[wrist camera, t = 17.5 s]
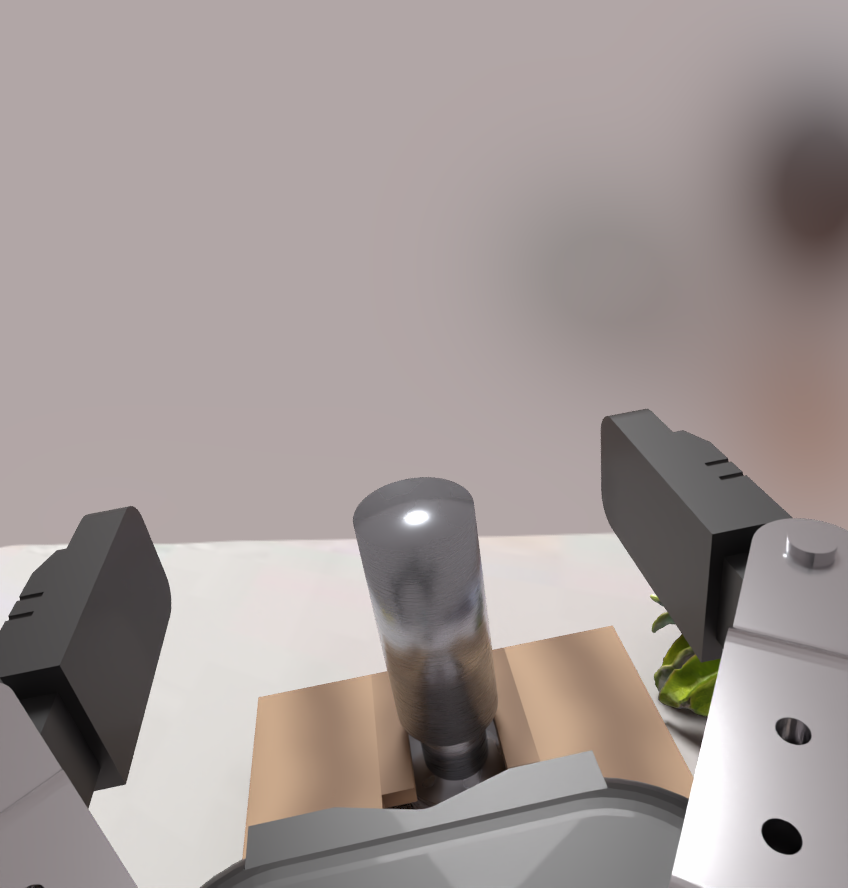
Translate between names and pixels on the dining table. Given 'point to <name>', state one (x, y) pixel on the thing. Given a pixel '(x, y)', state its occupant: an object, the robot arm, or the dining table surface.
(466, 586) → the keyhole post
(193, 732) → the dining table surface
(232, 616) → the dining table surface
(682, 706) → the passion flower
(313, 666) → the dining table surface
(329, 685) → the keyhole plate
